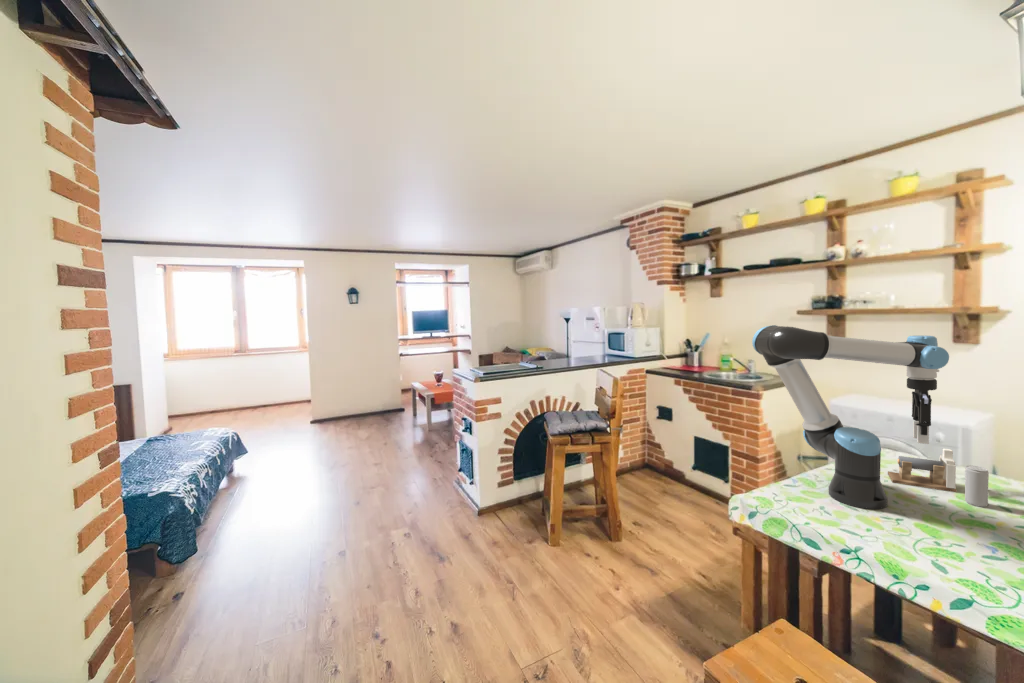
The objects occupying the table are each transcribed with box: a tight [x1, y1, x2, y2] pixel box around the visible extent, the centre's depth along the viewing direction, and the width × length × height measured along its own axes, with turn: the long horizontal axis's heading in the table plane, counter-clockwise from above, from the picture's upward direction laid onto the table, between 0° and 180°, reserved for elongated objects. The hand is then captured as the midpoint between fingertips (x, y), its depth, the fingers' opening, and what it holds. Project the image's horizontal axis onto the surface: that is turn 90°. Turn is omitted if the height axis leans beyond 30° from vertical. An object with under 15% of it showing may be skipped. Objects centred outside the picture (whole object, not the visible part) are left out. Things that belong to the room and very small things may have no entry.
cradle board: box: [887, 461, 958, 493], centre depth 141 cm, size 16×9×8 cm, turn 54°
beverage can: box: [964, 464, 990, 508], centre depth 125 cm, size 5×5×12 cm
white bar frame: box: [939, 448, 957, 489], centre depth 137 cm, size 2×9×12 cm, turn 143°
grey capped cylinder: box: [897, 455, 945, 472], centre depth 141 cm, size 12×4×4 cm, turn 54°
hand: (920, 440), depth 141 cm, fingers open, 5 cm apart
